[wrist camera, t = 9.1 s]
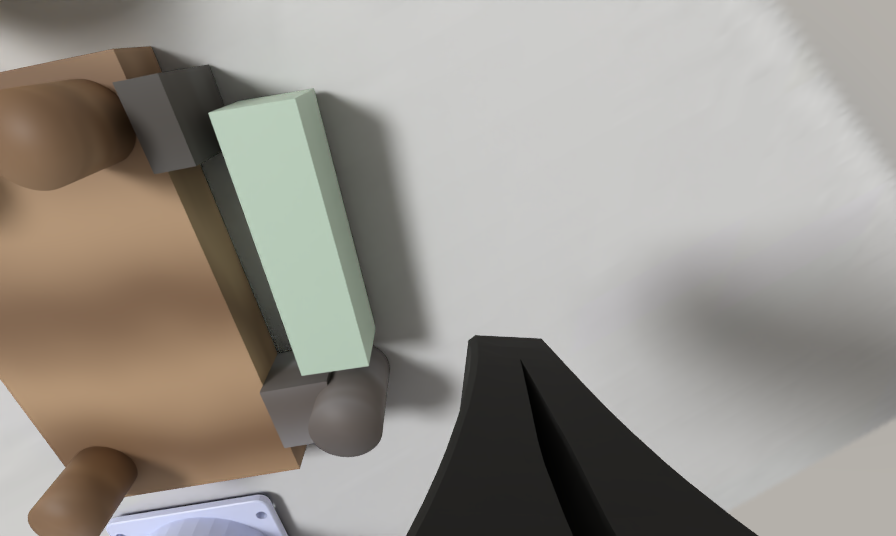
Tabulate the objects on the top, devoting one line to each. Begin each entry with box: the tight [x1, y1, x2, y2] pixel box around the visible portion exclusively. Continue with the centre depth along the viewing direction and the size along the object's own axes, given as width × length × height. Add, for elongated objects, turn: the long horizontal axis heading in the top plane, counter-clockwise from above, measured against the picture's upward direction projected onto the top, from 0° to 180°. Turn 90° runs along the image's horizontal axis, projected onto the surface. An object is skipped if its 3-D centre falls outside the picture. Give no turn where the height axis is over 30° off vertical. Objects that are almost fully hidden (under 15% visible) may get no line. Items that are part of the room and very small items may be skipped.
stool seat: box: [0, 46, 390, 536], centre depth 16 cm, size 16×13×4 cm
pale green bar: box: [208, 89, 376, 376], centre depth 16 cm, size 9×2×2 cm, turn 9°
